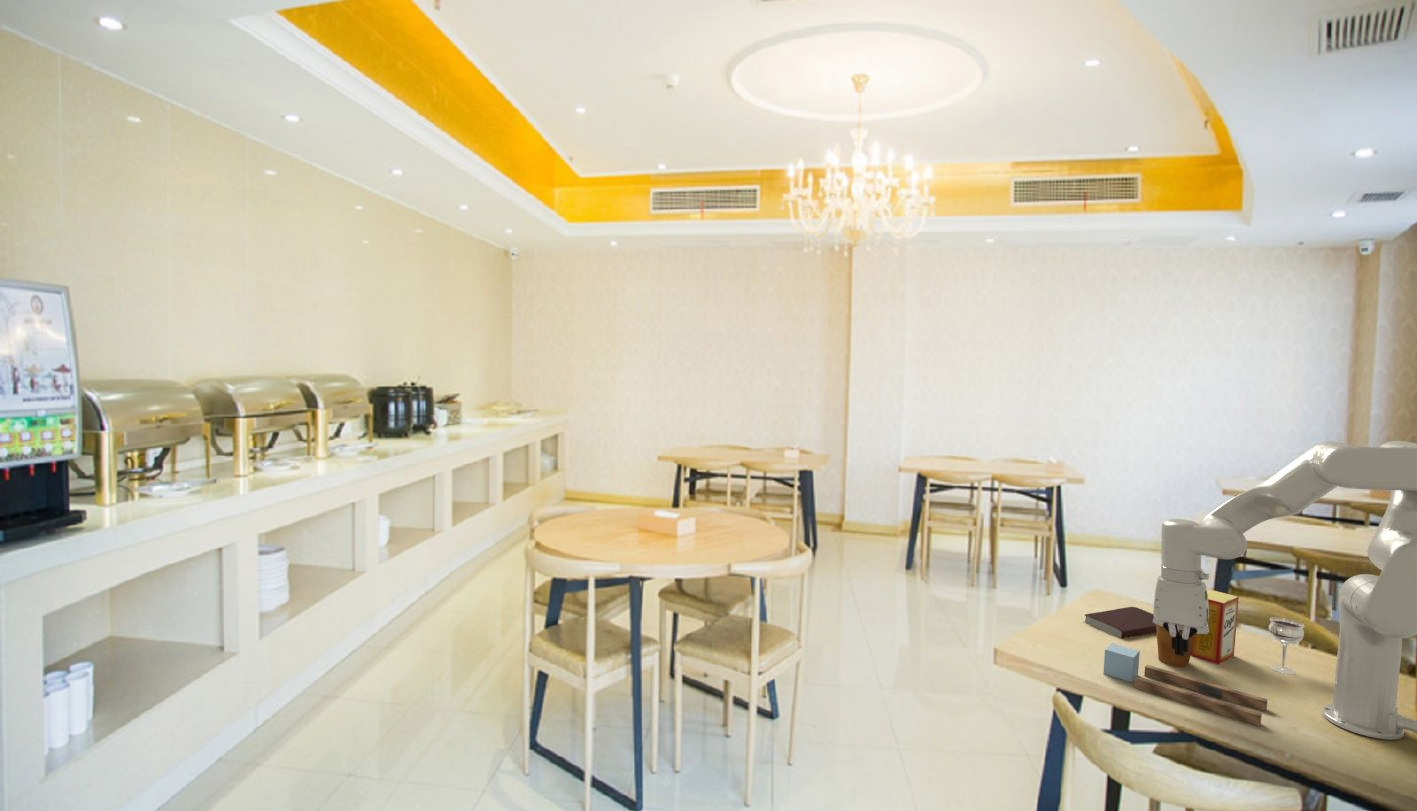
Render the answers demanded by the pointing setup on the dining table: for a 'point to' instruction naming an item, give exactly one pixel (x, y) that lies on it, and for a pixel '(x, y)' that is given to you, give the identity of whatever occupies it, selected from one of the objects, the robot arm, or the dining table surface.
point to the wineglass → (1285, 637)
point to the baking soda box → (1218, 629)
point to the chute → (1202, 688)
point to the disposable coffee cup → (1167, 652)
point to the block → (1121, 662)
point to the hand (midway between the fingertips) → (1180, 653)
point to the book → (1123, 622)
